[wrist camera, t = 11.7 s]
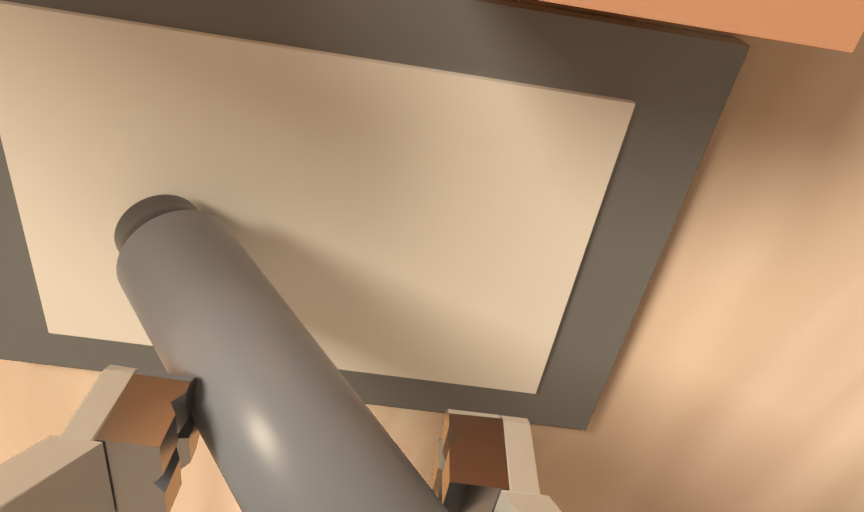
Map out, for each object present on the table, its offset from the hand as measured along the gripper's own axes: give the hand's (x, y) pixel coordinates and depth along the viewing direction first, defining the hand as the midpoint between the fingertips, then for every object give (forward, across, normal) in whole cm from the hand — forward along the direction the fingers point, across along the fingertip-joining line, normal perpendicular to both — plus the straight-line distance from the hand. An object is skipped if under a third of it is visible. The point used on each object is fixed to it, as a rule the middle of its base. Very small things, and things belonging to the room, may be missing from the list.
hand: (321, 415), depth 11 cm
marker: (+5, +5, 0) cm, 7 cm away
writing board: (+6, +1, 0) cm, 6 cm away
